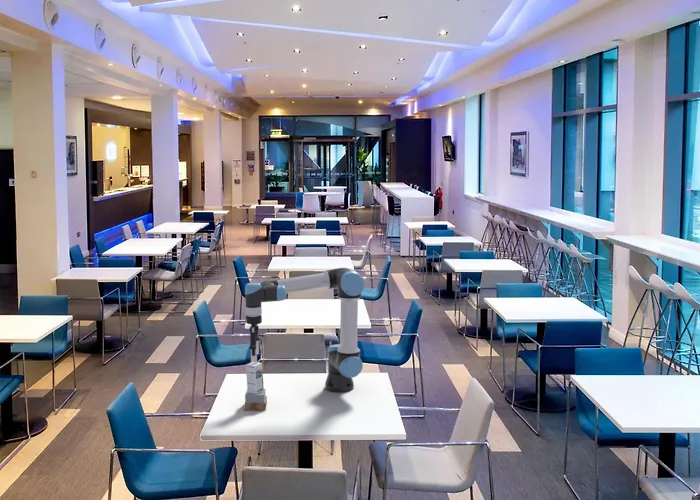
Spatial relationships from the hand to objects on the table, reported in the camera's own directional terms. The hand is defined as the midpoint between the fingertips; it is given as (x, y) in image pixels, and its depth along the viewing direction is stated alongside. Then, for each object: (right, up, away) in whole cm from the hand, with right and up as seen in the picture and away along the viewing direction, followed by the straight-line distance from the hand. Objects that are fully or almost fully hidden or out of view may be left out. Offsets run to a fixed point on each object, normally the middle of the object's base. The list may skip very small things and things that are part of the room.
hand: (255, 357), depth 362 cm
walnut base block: (0, -25, +3) cm, 25 cm away
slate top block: (0, -21, +3) cm, 21 cm away
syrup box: (0, -17, +2) cm, 17 cm away
